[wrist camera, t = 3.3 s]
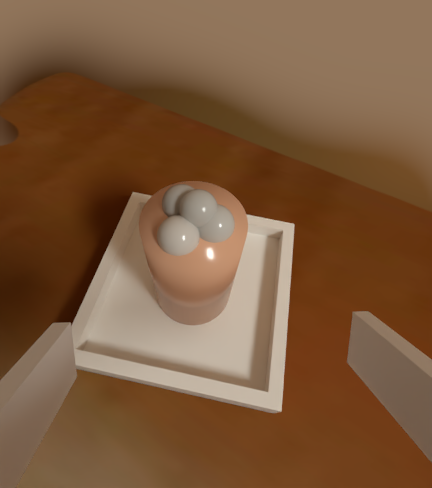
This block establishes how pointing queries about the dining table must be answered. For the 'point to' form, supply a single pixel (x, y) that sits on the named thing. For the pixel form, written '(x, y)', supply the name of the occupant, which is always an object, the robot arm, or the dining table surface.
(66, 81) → the dining table surface
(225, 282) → the pebble cup
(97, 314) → the tray
